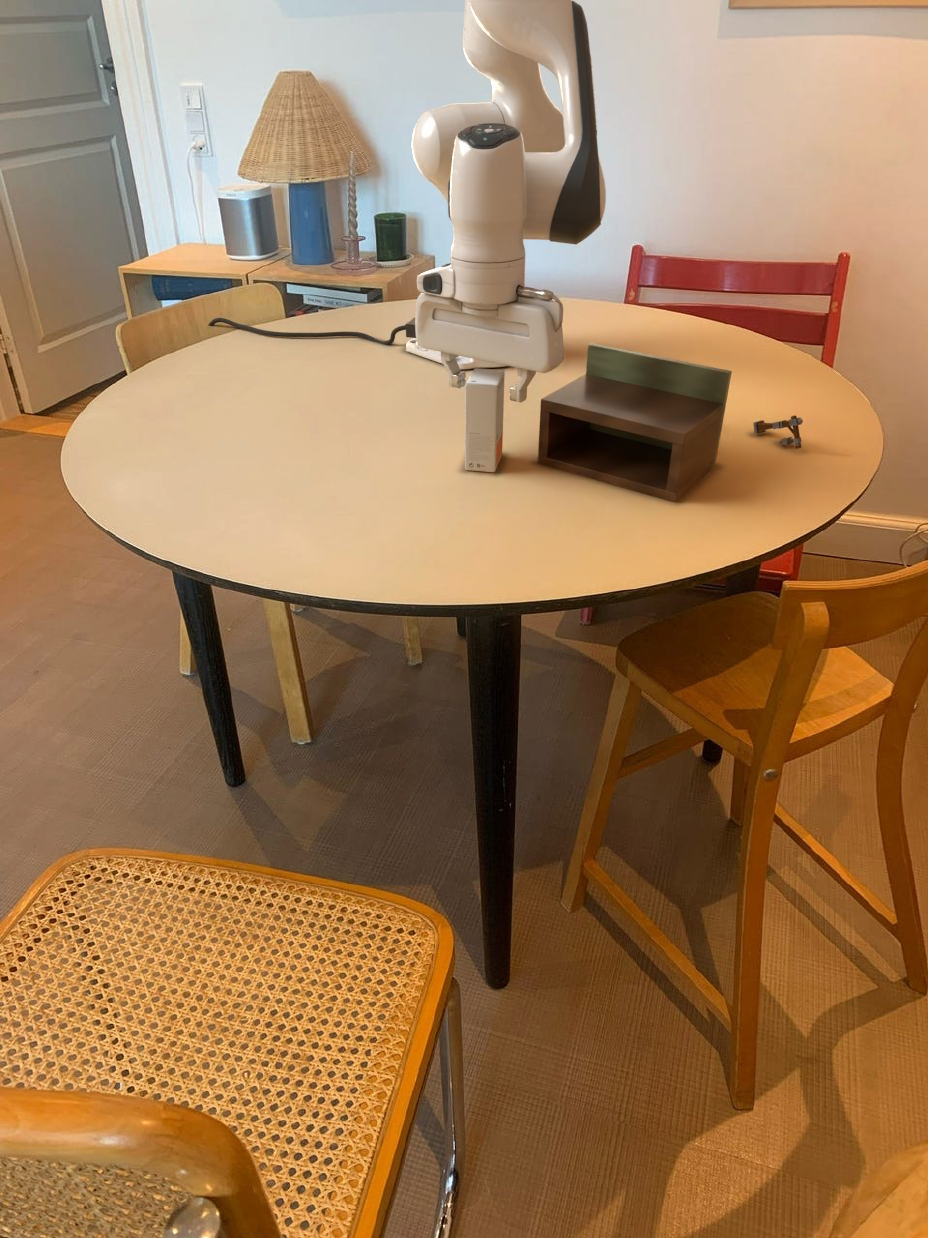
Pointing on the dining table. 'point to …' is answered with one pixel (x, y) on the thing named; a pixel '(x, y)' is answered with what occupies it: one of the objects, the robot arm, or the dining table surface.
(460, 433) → the dining table surface
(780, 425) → the wooden post with brackets
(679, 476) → the shelf
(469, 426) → the cosmetic box
